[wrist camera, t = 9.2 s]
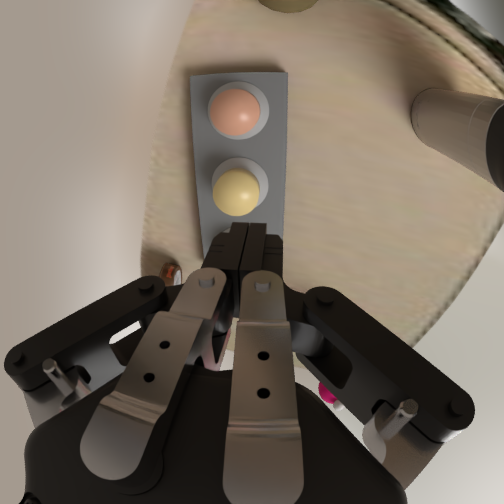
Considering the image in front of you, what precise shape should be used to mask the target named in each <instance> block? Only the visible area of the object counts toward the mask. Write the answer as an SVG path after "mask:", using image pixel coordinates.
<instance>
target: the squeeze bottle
mask: <svg viewBox="0 0 504 504" xmlns="http://www.w3.org/2000/svg"><path fill="white" fill-rule="evenodd" d="M317 1H318V0H259V2H260V3H261V4H263V5H264V6H266V7H268V8H270V9H271V10H274V11H279V12H284V13H293V12H301V11H303V10H306V9H308V8H311V7H312V6H313V5H314V4H315V3H316V2H317Z"/></svg>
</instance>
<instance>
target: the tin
mask: <svg viewBox="0 0 504 504" xmlns="http://www.w3.org/2000/svg"><path fill="white" fill-rule="evenodd" d="M159 277H160V278H161V279H163V280H164V282H165V286H173V285H180V284H182V270H181V267H180V266H177V265H172V264H168V263H165V264H164V266H163V267H162V270H161V272H160V276H159Z"/></svg>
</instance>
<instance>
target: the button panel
mask: <svg viewBox="0 0 504 504" xmlns="http://www.w3.org/2000/svg"><path fill="white" fill-rule="evenodd" d="M230 89H242V90H246V91H248V92H250V93H252V94H253V95H254V96H255V97H256V98H257V100H258V102H259V104H260V109H261V113H260V117H259V120H258V122H257V123H256V125H255V126H254V127H253V128H252V129H251V130H250V131H248V132H247V133H245V134H242V135H236V136H234V135H227V134H225V133H222V132H221V131H219V130H218V129H217V128H216V127H215V126H214V124H213V122H212V120H211V117H210V108H211V104H212V102H213V100H214V99H215V98H216V97H217V96H218V95H219V94H220V93H222V92H224V91H226V90H230ZM190 95H191V116H192V133H193V148H194V162H195V174H196V186H197V197H198V207H199V217H200V226H201V236H202V244H203V253H204V259H205V257H206V254H207V252H208V250H209V247H210V246H211V242H212V240H213V238H214V237H215V236H217V235H218V234H219V233H220V232H227V233H229V231H230V228H231V225H232V222H249V223H250V222H253V223H267V234H277V235H279V236H280V238H281V239H282V240H283V224H284V203H285V179H286V149H287V104H288V73H284V72H237V73H218V74H205V75H195V76H190ZM232 168H243V169H246V170H248V171H250V172H252V173H253V174H254V175H255V176H256V178H257V179H258V181H259V184H260V194H259V198H258V202H257V205H256V207H255V208H254V209H253V210H252V211H251V212H249V213H248V214H246V215H242V216H231V215H228V214H226V213H224V212H222V211H221V210H220V209H219V208H218V207H217V206H216V204H215V202H214V199H213V188H214V185H215V184H216V182H217V180H218V179H219V177H220V176H221V175H222V174H223V173H224V172H225V171H227V170H229V169H232Z"/></svg>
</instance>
